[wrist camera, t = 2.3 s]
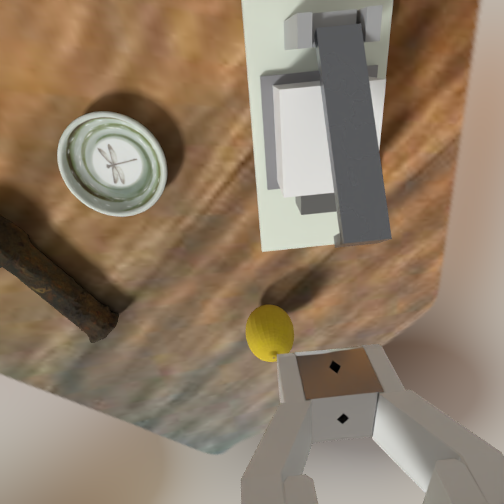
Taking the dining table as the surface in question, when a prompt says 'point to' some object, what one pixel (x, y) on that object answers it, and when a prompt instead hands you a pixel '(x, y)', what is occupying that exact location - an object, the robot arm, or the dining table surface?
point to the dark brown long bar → (53, 283)
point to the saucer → (112, 163)
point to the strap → (351, 136)
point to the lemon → (269, 332)
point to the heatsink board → (275, 60)
